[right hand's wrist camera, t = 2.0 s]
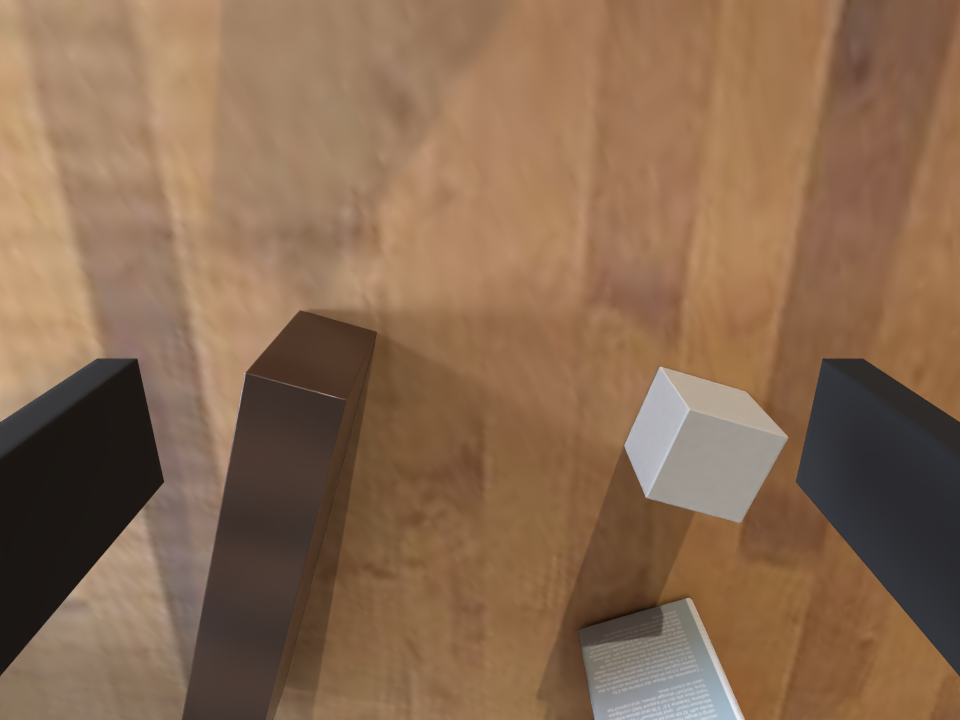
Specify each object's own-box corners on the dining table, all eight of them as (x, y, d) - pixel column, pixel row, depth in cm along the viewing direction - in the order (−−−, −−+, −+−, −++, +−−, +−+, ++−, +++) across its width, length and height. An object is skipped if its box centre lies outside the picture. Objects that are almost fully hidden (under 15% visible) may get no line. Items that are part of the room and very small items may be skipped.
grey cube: (623, 445, 35) (645, 498, 30) (659, 365, 33) (689, 408, 28) (706, 468, 35) (740, 524, 31) (746, 391, 33) (789, 437, 29)
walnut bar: (283, 688, 41) (241, 815, 34) (222, 675, 41) (166, 801, 34) (377, 331, 32) (346, 400, 25) (299, 309, 32) (244, 372, 24)
